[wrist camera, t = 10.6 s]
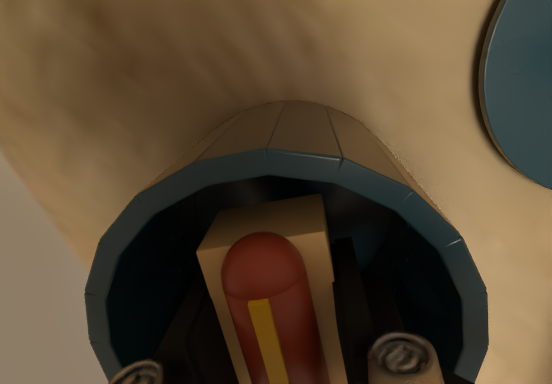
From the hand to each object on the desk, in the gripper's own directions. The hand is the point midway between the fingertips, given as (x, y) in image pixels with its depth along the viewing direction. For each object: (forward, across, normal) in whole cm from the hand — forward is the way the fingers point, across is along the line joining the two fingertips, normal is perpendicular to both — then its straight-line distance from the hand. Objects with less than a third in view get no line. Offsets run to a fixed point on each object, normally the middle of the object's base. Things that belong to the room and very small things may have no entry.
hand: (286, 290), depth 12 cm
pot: (+6, 0, 0) cm, 6 cm away
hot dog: (+1, 0, 0) cm, 1 cm away
